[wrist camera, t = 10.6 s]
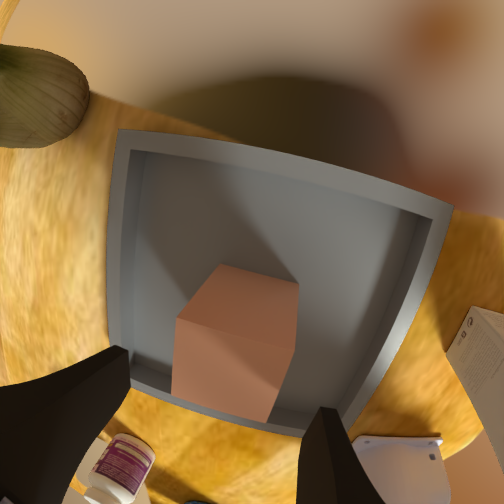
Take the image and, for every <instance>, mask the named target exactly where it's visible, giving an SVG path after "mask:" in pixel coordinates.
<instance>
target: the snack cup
mask: <svg viewBox="0 0 504 504" xmlns="http://www.w3.org/2000/svg"><path fill="white" fill-rule="evenodd" d="M184 504H208V503H203V502H197V501H192V502H187V503H184Z"/></svg>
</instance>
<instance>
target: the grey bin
mask: <svg viewBox="0 0 504 504" xmlns="http://www.w3.org/2000/svg"><path fill="white" fill-rule="evenodd" d="M453 209H454V205H452V204H449V203H447V202H444V201H442V200H439V199H437V198H434V197H431V196H429V195H426V194H423V193H420V192H418V191H415V190H412V189H410V188H407V187H404V186H401V185H398V184H395V183H392V182H389V181H386V180H383V179H380V178H377V177H374V176H370V175H367V174H364V173H360V172H357V171H353V170H350V169H346V168H343V167H339V166H336V165H332V164H328V163H325V162H321V161H317V160H313V159H309V158H304V157H301V156H296V155H292V154H288V153H283V152H279V151H274V150H269V149H264V148H259V147H254V146H249V145H244V144H238V143H232V142H227V141H221V140H214V139H208V138H201V137H194V136H187V135H179V134H170V133H161V132H151V131H140V130H128V129H118V134H117V141H116V147H115V154H114V161H113V169H112V177H111V186H110V197H109V209H108V225H107V251H106V288H107V314H108V329H109V342H110V347H111V346H113V345H117V346H120V347H122V348H124V349H127V350H128V351H129V367H130V380H131V387H132V388H134V389H136V390H139V391H141V392H143V393H146V394H148V395H151V396H153V397H156V398H158V399H161V400H163V401H166V402H169V403H171V404H174V405H177V406H180V407H183V408H185V409H188V410H191V411H194V412H197V413H200V414H204V415H207V416H210V417H213V418H217V419H220V420H224V421H227V422H231V423H234V424H238V425H242V426H246V427H250V428H254V429H259V430H263V431H268V432H272V433H277V434H282V435H287V436H293V437H299V438H302V437H303V435H304V434H305V432H306V430H307V429H308V427H309V425H310V424H311V422H312V420H313V418H314V417H315V415H316V413H317V411H318V409H319V408H320V406H321V407H327V408H334V409H337V411H338V413H339V416H340V418H341V421H342V423H343V426H344V428H345V430H346V433H347V432H348V430H349V429H350V428H351V426H352V425H353V423H354V422H355V421H356V419H357V418H358V416H359V415H360V413H361V412H362V410H363V409H364V407H365V406H366V404H367V403H368V401H369V399H370V398H371V396H372V395H373V393H374V391H375V390H376V388H377V386H378V385H379V383H380V381H381V380H382V378H383V376H384V375H385V373H386V371H387V369H388V368H389V366H390V364H391V362H392V360H393V359H394V357H395V355H396V353H397V351H398V349H399V347H400V345H401V343H402V341H403V339H404V337H405V335H406V333H407V331H408V329H409V327H410V325H411V323H412V321H413V319H414V317H415V314H416V312H417V310H418V308H419V305H420V303H421V301H422V299H423V296H424V294H425V291H426V289H427V286H428V284H429V281H430V279H431V276H432V274H433V271H434V268H435V266H436V263H437V260H438V257H439V254H440V252H441V249H442V246H443V243H444V240H445V236H446V233H447V230H448V227H449V223H450V220H451V216H452V213H453ZM219 264H224V265H228V266H231V267H235V268H239V269H243V270H247V271H250V272H254V273H258V274H262V275H266V276H270V277H274V278H277V279H281V280H285V281H289V282H293V283H297V284H299V296H298V313H297V328H296V342H295V351H294V354H293V357H292V359H291V362H290V365H289V367H288V370H287V372H286V375H285V378H284V380H283V383H282V385H281V388H280V390H279V393H278V395H277V398H276V400H275V403H274V405H273V407H272V410H271V412H270V415H269V417H268V419H267V422H266V423H262V422H258V421H254V420H250V419H246V418H242V417H238V416H235V415H231V414H227V413H224V412H220V411H217V410H214V409H210V408H207V407H204V406H201V405H198V404H195V403H192V402H189V401H186V400H183V399H180V398H177V397H175V396H172V395H171V385H172V367H173V352H174V339H175V327H176V317H177V316H178V315H179V313H180V312H181V311H182V310H183V308H184V307H185V306H186V305H187V303H188V302H189V301H190V300H191V298H192V297H193V296H194V295H195V294H196V292H197V291H198V290H199V289H200V287H201V286H202V285H203V284H204V282H205V281H206V280H207V279H208V278H209V276H210V275H211V274H212V273H213V271H214V270H215V269H216V268H217V267H218V265H219Z"/></svg>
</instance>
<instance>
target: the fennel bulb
mask: <svg viewBox="0 0 504 504" xmlns="http://www.w3.org/2000/svg"><path fill="white" fill-rule="evenodd" d="M89 96H90V95H89V85H88V81H87V79H86V76H85V75H84V74H83V72H82V71H81V70H80V69H78V67H77V66H75V65H74V63H72V62H70V61H68V60H67V59H65V58H63V57H61V56H58V55H55V54H53V53H51V52H48V51H44V50H40V49H33V48H28V47H20V46H19V47H17V46H10V45H3V44H0V147H6V148H41V147H46V146H48V145H51V144H53V143H55V142H57V141H59V140H61V139H64V138H66V137H67V136H69V135H70V134H71V133H72V132H73V131H74V130H75V129H76V128H77V127H78V125H79V123H80V121H81V120H82V118H83V115H84V113H85V111H86V108H87V105H88V101H89Z"/></svg>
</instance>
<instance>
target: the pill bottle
mask: <svg viewBox="0 0 504 504" xmlns="http://www.w3.org/2000/svg"><path fill="white" fill-rule="evenodd" d="M154 460H155V453H154V452H153V450H152V449H151V448H150V447H149V446H148V445H147V444H145V443H144V442H142V441H141V440H139V439H138V438H136V437H133V436H131V435H128V434H125V433H119V434H117V435H115V436H114V438H113V439H112V441H111V442H110V444H109V445H108V447H107V448H106V450H105V451H104V453H103V454H102V455H101V457H100V459H99V460H98V462H97V463H96V464H95V466H94V467H93V469H92V470H91V472H90V474H89V482H90V483H91V485H92V487H89V488H88V489H87V490H86V492H85V494H84V498H85V499H86V500H88V501H89V502H90V503H92V504H129V503H132V502H133V501H134V500H135V498H136V496H137V494H138V492H139V490H140V488H141V486H142V484H143V482H144V480H145V478H146V476H147V475H148V473H149V471H150V469H151V467H152V464H153V463H154Z"/></svg>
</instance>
